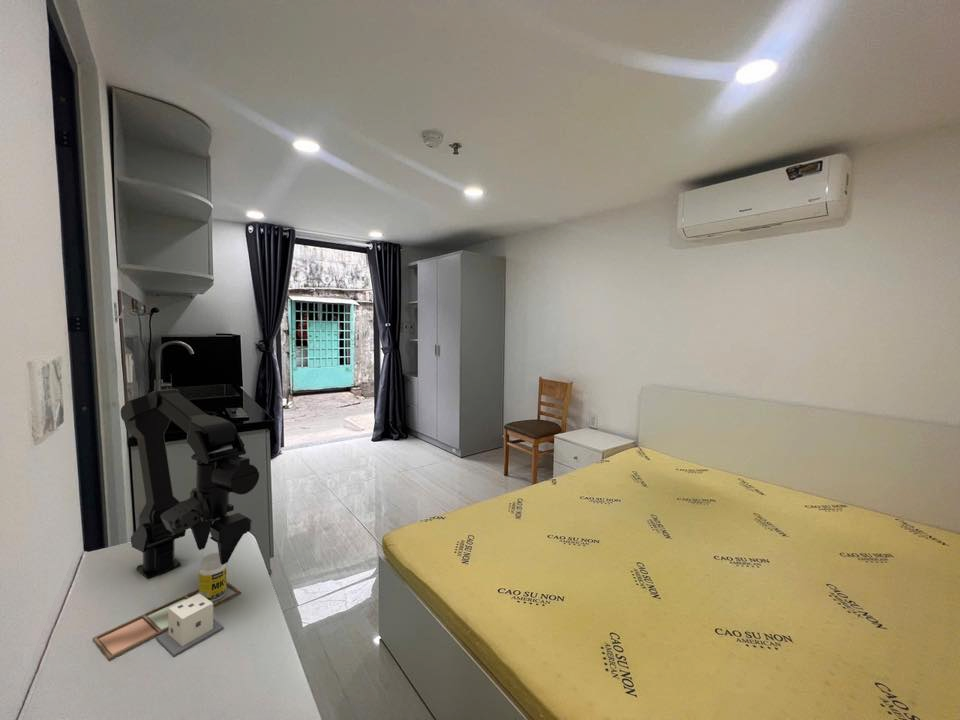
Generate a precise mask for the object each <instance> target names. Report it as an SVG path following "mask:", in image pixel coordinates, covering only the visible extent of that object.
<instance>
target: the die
mask: <svg viewBox="0 0 960 720" xmlns="http://www.w3.org/2000/svg"><path fill="white" fill-rule="evenodd" d="M213 604H214V602H211V601H209V600H208V599H207V598H205V597H204V596H202V595H201V594H199V593H196V594H194V595H192V596H190V597H189V598H188V599H186V600H184V601H182V602H180V603H178V604H176V605H174V606H172V607H170V608H169V635H170V636H171V637H172V638H173V639H174V640H176V641H177V642H178V643H179V644H180V645H181V646H184V645H186V644H187V643H189V642H191V641H193V640H194V639H196V638H198V637H200V636H201V635H203V634H205V633H207V632H208V631H210V630H212V629H213V619H214V608H213Z"/></svg>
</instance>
